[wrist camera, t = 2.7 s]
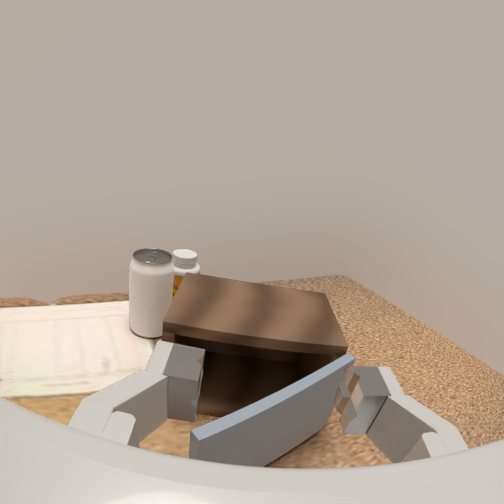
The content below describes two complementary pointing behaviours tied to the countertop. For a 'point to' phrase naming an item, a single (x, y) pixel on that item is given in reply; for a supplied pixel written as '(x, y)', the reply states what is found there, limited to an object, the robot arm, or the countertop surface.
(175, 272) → the supplement bottle
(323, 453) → the countertop surface
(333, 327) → the crate
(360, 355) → the countertop surface
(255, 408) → the flap
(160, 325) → the can
